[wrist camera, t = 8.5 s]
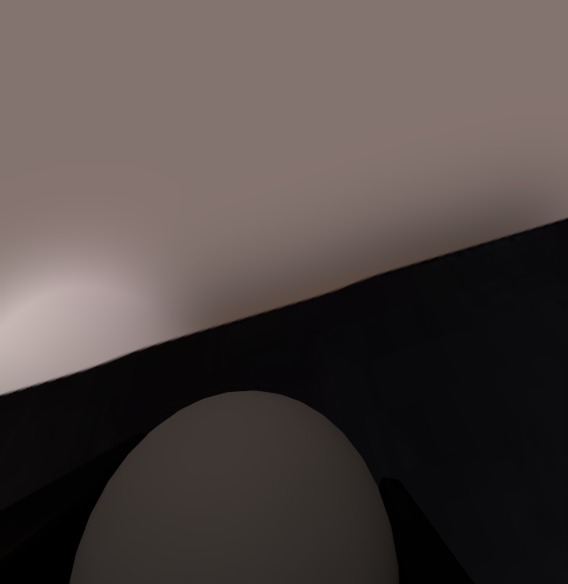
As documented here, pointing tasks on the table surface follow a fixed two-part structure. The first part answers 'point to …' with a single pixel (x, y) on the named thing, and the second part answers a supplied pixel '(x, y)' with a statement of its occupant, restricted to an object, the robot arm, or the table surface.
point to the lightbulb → (240, 503)
